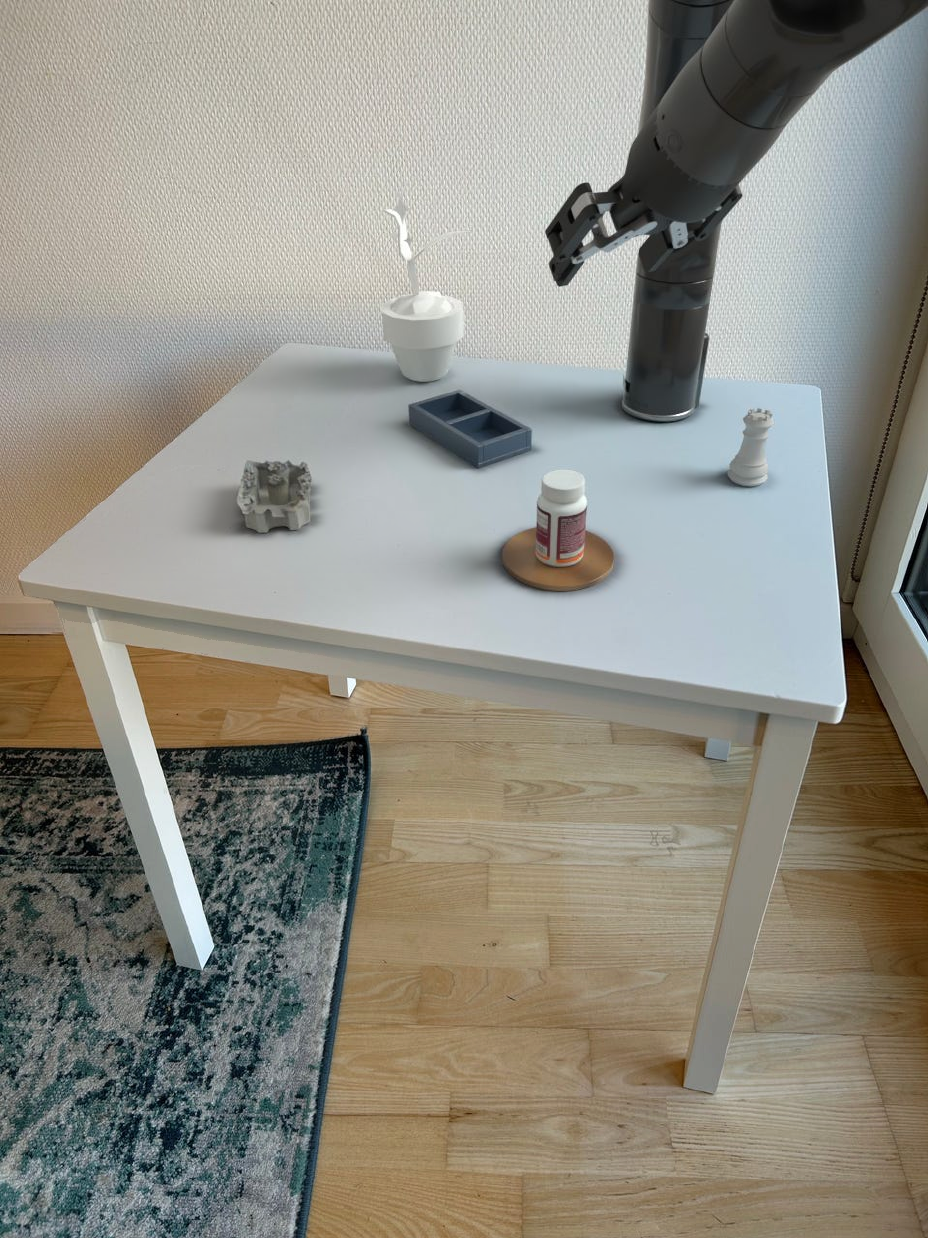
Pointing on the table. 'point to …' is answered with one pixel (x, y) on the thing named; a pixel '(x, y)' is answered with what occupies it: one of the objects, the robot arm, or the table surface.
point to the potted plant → (421, 316)
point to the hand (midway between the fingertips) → (601, 268)
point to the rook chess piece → (752, 450)
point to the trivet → (543, 576)
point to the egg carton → (275, 495)
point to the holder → (470, 428)
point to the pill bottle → (561, 518)
